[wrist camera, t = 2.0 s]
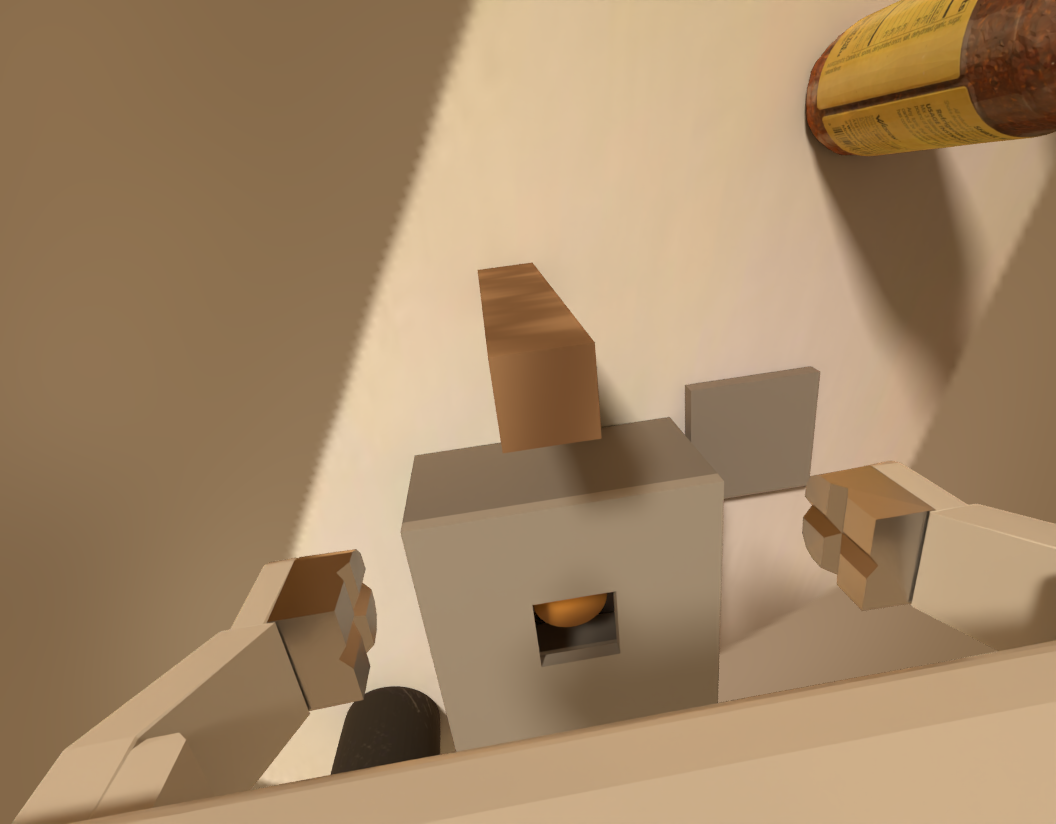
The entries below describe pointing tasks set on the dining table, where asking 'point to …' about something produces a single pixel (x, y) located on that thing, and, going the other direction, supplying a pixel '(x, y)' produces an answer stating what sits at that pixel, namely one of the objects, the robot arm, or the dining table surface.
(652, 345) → the dining table surface
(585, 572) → the box
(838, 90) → the sauce bottle
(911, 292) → the dining table surface
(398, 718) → the travel mug
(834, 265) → the dining table surface
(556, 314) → the brown wooden bar
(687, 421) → the pad
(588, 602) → the button
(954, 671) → the robot arm
